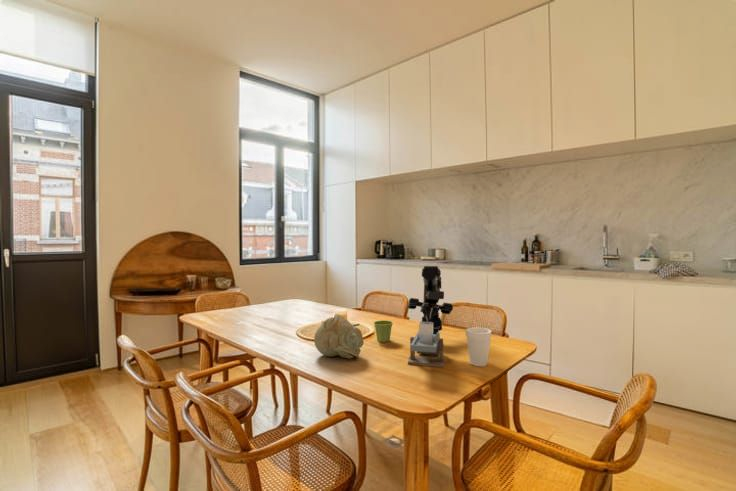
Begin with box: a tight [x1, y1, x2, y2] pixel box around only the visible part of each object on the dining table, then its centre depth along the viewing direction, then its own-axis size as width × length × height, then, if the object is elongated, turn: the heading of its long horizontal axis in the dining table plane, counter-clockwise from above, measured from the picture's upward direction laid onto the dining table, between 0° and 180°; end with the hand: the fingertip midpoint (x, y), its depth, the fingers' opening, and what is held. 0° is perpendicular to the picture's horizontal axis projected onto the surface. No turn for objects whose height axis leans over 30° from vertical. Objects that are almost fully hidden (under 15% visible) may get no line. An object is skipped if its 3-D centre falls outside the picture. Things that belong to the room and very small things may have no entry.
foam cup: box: [465, 326, 492, 367], centre depth 143 cm, size 10×9×13 cm
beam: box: [409, 330, 441, 355], centre depth 143 cm, size 28×9×8 cm, turn 166°
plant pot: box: [373, 320, 394, 343], centre depth 176 cm, size 9×9×9 cm
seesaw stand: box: [407, 336, 446, 368], centre depth 145 cm, size 8×14×10 cm, turn 76°
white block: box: [418, 320, 433, 343], centre depth 143 cm, size 6×5×7 cm
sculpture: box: [313, 313, 365, 360], centre depth 154 cm, size 18×20×20 cm
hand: (429, 324), depth 154 cm, fingers closed
